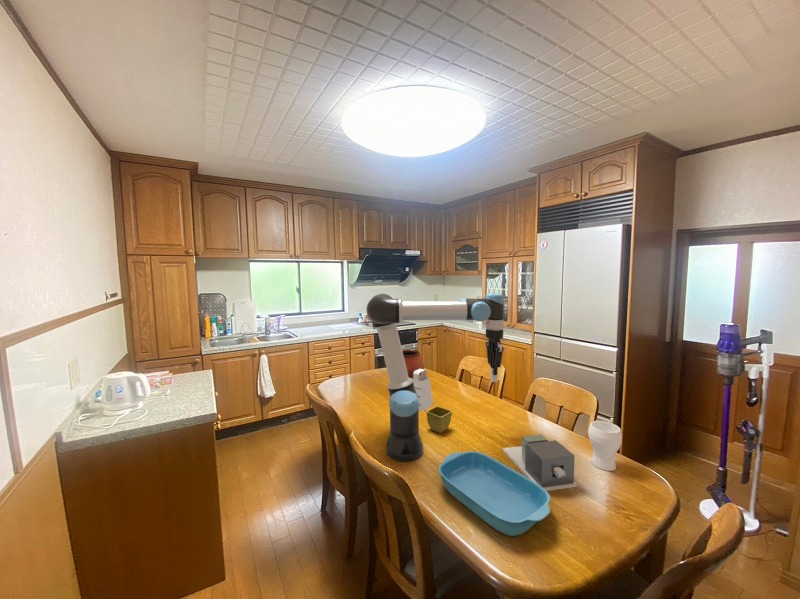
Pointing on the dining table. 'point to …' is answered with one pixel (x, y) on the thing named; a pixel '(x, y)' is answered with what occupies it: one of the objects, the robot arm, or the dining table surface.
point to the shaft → (540, 438)
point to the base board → (516, 458)
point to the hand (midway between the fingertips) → (493, 381)
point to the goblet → (412, 361)
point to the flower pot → (439, 418)
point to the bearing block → (548, 463)
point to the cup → (604, 444)
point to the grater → (423, 389)
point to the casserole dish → (495, 491)
